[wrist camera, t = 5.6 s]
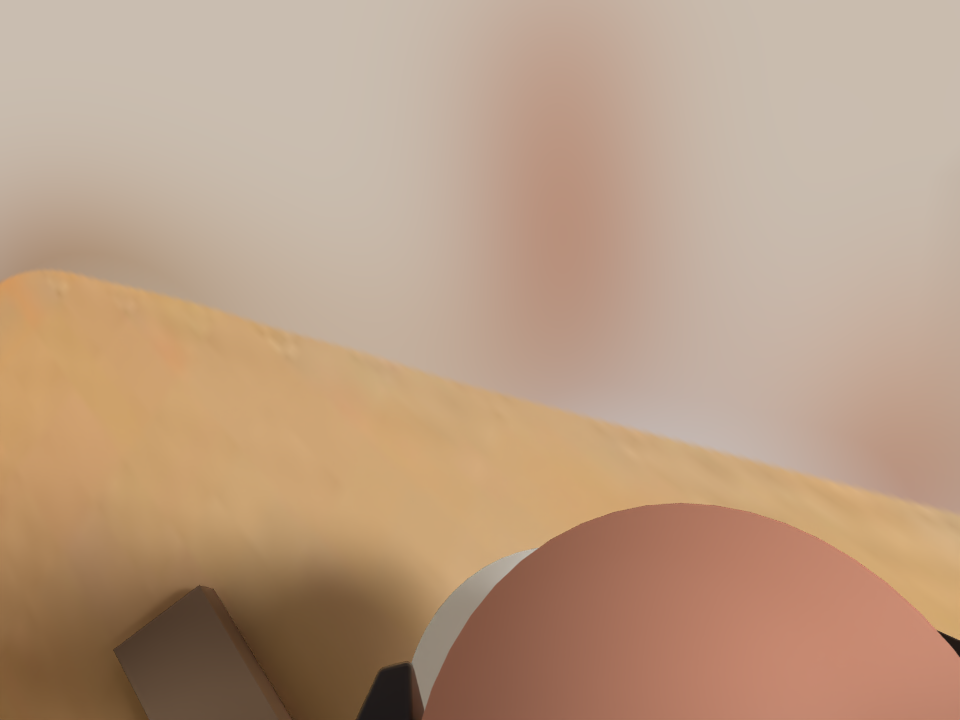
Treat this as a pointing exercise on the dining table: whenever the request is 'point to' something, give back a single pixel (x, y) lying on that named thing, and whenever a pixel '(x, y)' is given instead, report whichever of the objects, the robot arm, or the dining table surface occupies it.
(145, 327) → the dining table surface
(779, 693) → the knob
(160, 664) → the notched board
